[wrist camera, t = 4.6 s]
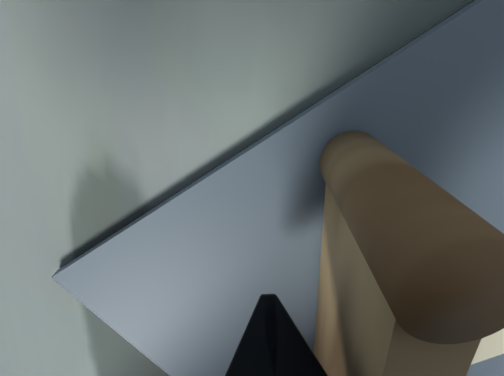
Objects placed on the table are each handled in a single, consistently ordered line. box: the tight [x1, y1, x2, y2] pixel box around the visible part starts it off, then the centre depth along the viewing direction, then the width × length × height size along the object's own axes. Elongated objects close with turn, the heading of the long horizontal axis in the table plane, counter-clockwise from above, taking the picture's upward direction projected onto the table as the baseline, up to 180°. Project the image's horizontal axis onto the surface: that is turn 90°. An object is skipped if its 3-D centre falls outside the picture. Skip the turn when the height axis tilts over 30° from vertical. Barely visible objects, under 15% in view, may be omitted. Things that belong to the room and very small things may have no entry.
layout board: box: [51, 0, 504, 376], centre depth 11 cm, size 20×16×1 cm
